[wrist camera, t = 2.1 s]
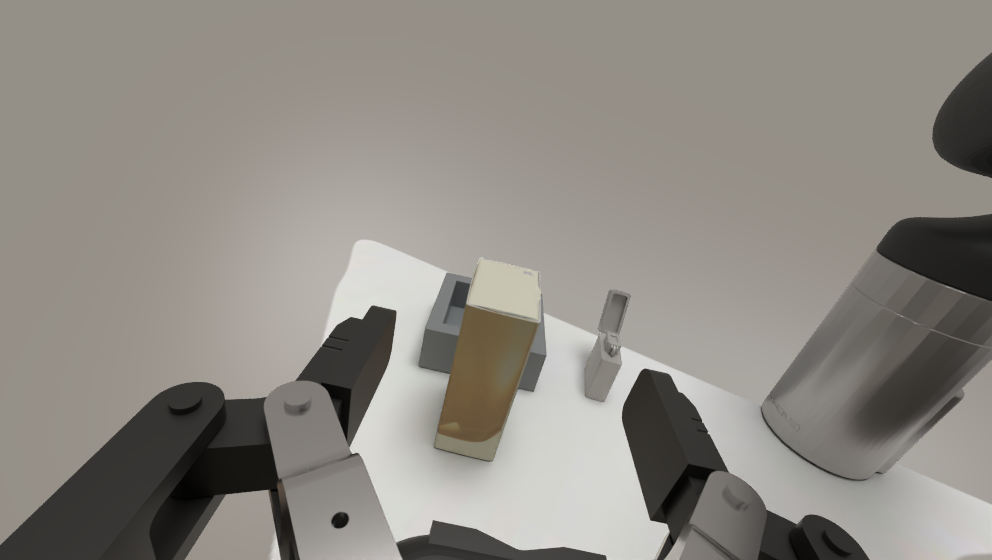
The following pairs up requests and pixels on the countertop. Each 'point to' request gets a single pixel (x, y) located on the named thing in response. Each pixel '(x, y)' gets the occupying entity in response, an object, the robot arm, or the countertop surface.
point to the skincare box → (489, 357)
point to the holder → (447, 327)
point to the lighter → (606, 347)
